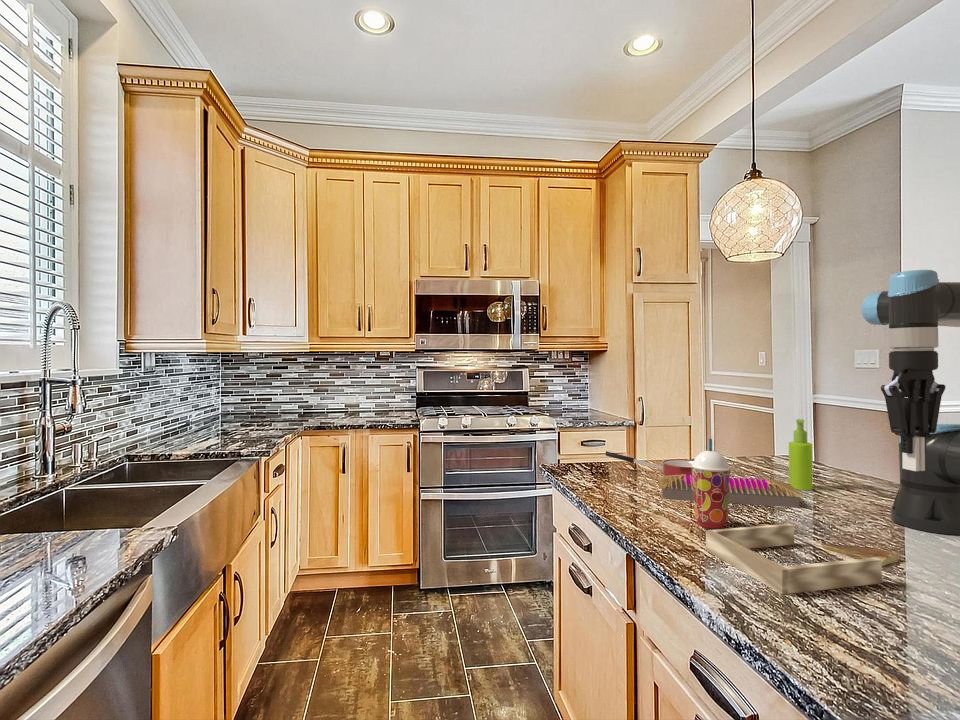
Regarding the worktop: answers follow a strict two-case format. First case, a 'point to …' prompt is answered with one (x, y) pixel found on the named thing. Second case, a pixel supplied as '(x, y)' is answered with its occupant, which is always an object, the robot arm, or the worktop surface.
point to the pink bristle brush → (736, 491)
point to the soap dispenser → (800, 459)
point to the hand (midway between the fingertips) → (913, 469)
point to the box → (787, 579)
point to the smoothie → (711, 488)
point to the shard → (863, 552)
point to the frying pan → (668, 465)
